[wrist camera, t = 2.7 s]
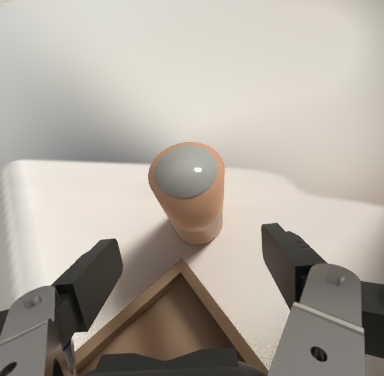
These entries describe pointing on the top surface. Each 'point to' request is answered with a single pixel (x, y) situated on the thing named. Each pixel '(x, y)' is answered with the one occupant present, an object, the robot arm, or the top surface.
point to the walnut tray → (167, 324)
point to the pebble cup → (190, 190)
